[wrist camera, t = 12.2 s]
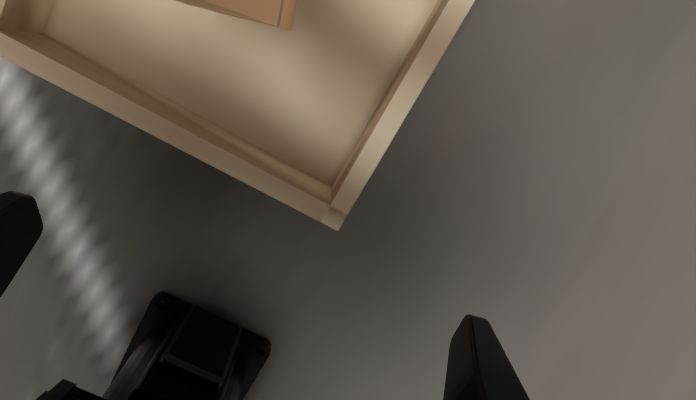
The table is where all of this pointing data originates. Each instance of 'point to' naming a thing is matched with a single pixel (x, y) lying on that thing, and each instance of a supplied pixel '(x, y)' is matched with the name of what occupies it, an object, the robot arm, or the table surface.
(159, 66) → the tray
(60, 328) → the table surface
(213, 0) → the orange post
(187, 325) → the robot arm
